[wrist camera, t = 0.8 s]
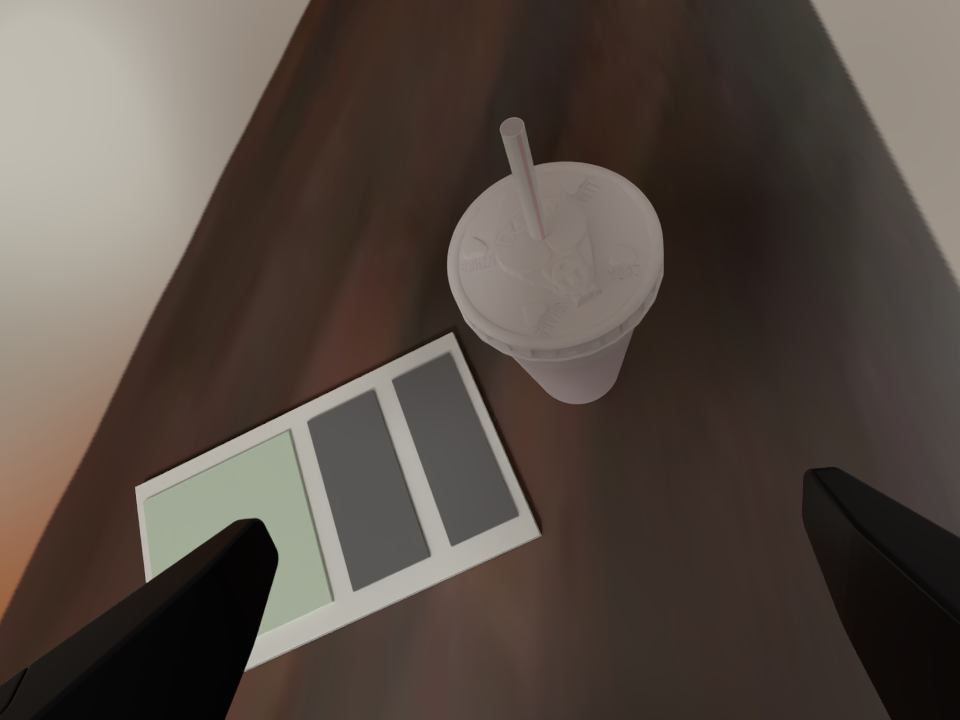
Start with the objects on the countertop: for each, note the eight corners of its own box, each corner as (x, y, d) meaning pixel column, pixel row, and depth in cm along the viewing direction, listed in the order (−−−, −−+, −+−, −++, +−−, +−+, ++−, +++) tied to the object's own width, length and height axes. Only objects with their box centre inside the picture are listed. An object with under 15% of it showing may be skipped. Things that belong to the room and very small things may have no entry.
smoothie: (596, 275, 26) (566, -8, 14) (684, 381, 24) (750, 149, 11) (481, 349, 26) (346, 136, 14) (556, 464, 24) (473, 329, 11)
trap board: (541, 535, 23) (539, 534, 22) (169, 706, 24) (157, 709, 23) (455, 336, 27) (451, 330, 26) (143, 488, 28) (131, 486, 27)
